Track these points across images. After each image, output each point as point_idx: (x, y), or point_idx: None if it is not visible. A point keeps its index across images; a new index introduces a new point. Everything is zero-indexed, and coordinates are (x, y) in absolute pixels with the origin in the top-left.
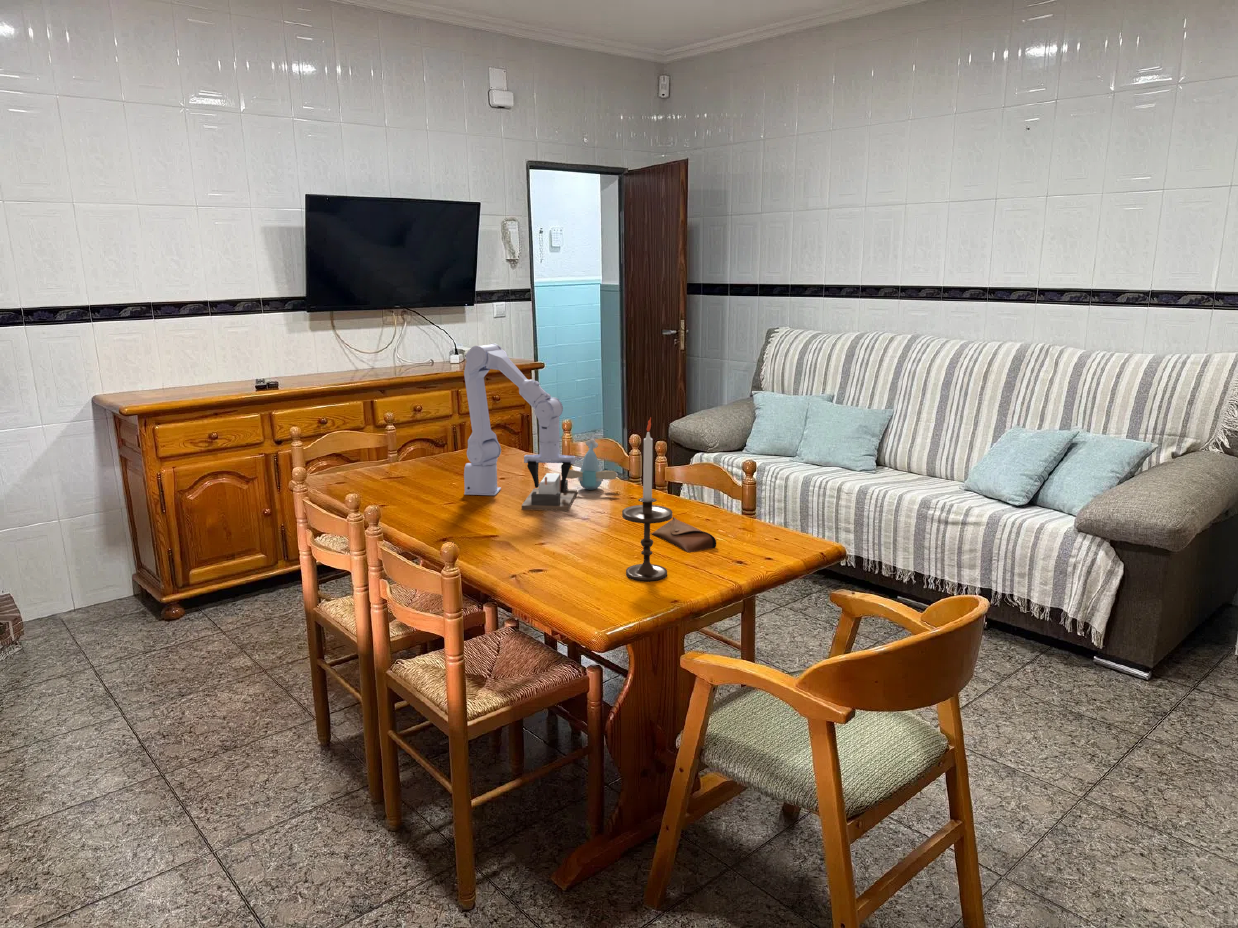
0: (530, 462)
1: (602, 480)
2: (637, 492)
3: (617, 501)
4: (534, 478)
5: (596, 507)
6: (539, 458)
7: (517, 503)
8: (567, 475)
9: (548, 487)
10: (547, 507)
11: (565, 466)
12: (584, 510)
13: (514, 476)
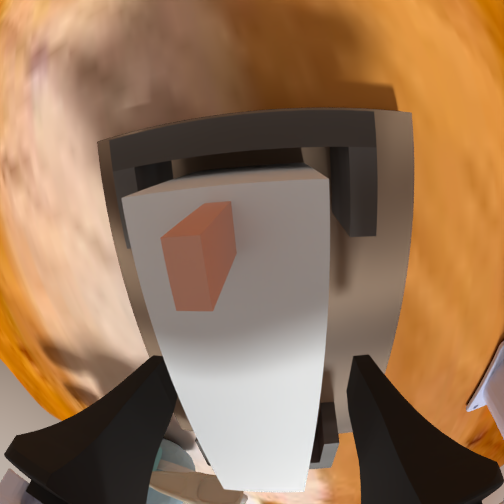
0: None
1: None
2: (49, 397)
3: (30, 323)
4: (395, 404)
5: (36, 239)
6: None
7: (439, 250)
8: (215, 486)
9: (184, 185)
10: (224, 116)
11: (15, 458)
12: (54, 178)
13: None
